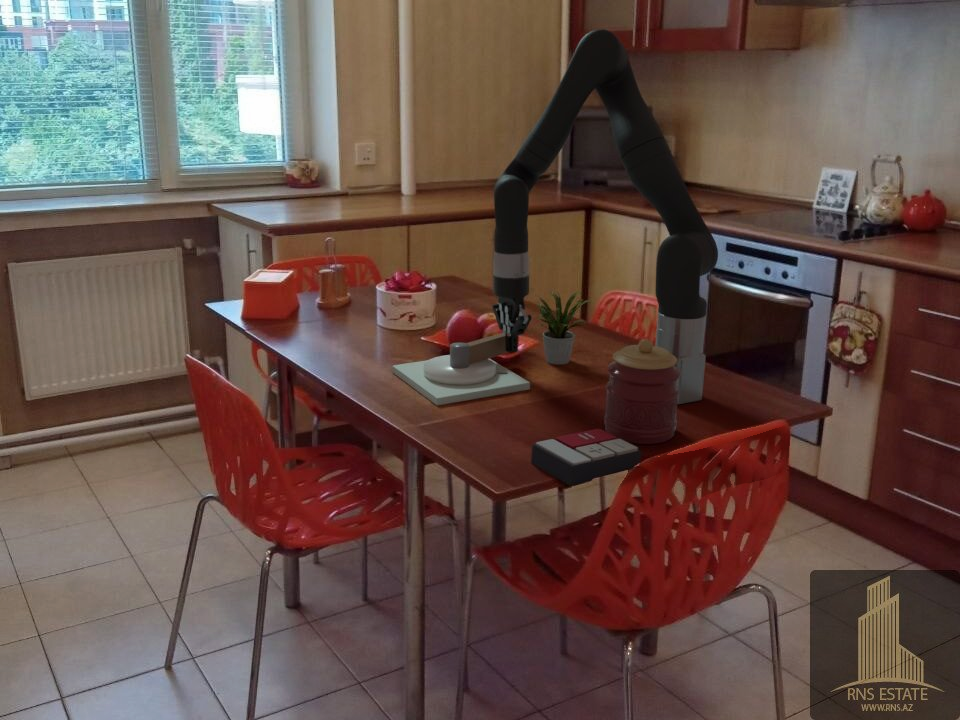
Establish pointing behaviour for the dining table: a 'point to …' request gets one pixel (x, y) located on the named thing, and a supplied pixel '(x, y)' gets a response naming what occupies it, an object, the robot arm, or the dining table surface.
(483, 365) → the dial
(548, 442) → the calculator
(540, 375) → the dining table surface
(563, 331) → the house plant
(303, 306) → the dining table surface
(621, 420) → the canister
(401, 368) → the dial base
